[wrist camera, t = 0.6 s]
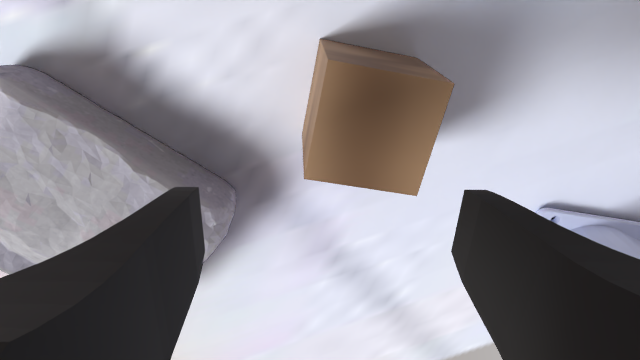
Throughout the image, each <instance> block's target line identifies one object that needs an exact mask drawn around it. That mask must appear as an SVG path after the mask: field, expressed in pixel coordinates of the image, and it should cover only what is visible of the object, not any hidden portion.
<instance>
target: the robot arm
mask: <svg viewBox="0 0 640 360" xmlns="http://www.w3.org/2000/svg"><path fill="white" fill-rule="evenodd" d="M554 216H556V217H555V218H554V219H553V220H551V218H552V217H554ZM451 252H452V255H453V258H454V261H455V264H456V267H457V270H458V272H459V275H460V278H461V280H462V283H463V285H464V287H465V289H466V291H467V293H468V294H469V296H470V298H471V300H472V302H473V304H474V306H475V308H476V310H477V312H478V313H479V315H480V317H481V319H482V321H483V323H484V325H485V326H486V328H487V330H488V332H489V334H490V336H491V338H492V339H493V341H494V343H495V345H496V347H497V349H498V351H499V353H500V355H501V357H502V359H503V360H640V222H637V221H630V220H624V219H617V218H611V217H604V216H598V215H592V214H585V213H579V212H572V211H566V210H559V209H553V208H542V209H539V210H538V211H537V212H536V213H534V212H533V211H531V210H529V209H527V208H525V207H523V206H521V205H519V204H517V203H515V202H513V201H511V200H509V199H507V198H505V197H502V196H500V195H498V194H496V193H493V192H490V191H488V190H464V195H463V200H462V204H461V209H460V214H459V218H458V223H457V227H456V232H455V237H454V241H453V246H452V251H451ZM204 255H205V244H204V234H203V224H202V214H201V204H200V194H199V187H174V188H172V189H170V190H168V191H167V192H165V193H163V194H162V195H160V196H159V197H157V198H156V199H154V200H153V201H151V202H150V203H148V204H147V205H145V206H144V207H142V208H140V209H139V210H137V211H136V212H134V213H133V214H131V215H130V216H128V217H126V218H125V219H123V220H122V221H120V222H118V223H116V224H115V225H113V226H111V227H110V228H108V229H106V230H104V231H103V232H101V233H99V234H98V235H96V236H94V237H92V238H91V239H89V240H87V241H85V242H83V243H81V244H79V245H77V246H75V247H73V248H71V249H69V250H67V251H65V252H63V253H60V254H58V255H56V256H54V257H52V258H50V259H47V260H45V261H43V262H40V263H38V264H35V265H33V266H30V267H28V268H25V269H22V270H20V271H17V272H15V273H12V274H10V275H7V276H5V277H2V278H0V360H170V359H171V356H172V353H173V351H174V348H175V345H176V343H177V340H178V337H179V335H180V332H181V329H182V326H183V324H184V321H185V318H186V316H187V313H188V310H189V308H190V305H191V302H192V299H193V297H194V294H195V291H196V288H197V285H198V283H199V278H200V274H201V269H202V264H203V260H204Z"/></svg>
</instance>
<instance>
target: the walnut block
mask: <svg viewBox="0 0 640 360" xmlns="http://www.w3.org/2000/svg"><path fill="white" fill-rule="evenodd" d="M453 87H454V83H453V82H451V81H450V80H448V79H447V78H446V77H444V76H443V75H441V74H440V73H438V72H437V71H435V70H434V69H433V68H431V67H430V66H428V65H427V64H425V63H424V62H422V61H421V60H420V59H418V58H415V57H410V56H405V55H400V54H395V53H390V52H385V51H380V50H375V49H370V48H365V47H360V46H355V45H350V44H345V43H340V42H335V41H330V40H325V39H320V41H319V46H318V52H317V57H316V62H315V68H314V73H313V78H312V84H311V89H310V94H309V100H308V105H307V110H306V116H305V121H304V126H303V132H302V143H303V165H304V179H308V180H315V181H321V182H328V183H335V184H341V185H348V186H354V187H361V188H368V189H374V190H381V191H387V192H394V193H401V194H407V195H414V196H417V194H418V191H419V188H420V185H421V182H422V179H423V176H424V173H425V170H426V167H427V164H428V161H429V158H430V155H431V152H432V149H433V146H434V143H435V140H436V137H437V134H438V131H439V128H440V125H441V122H442V119H443V116H444V113H445V110H446V107H447V104H448V101H449V99H450V96H451V93H452V90H453Z"/></svg>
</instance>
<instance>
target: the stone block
mask: <svg viewBox="0 0 640 360" xmlns="http://www.w3.org/2000/svg"><path fill="white" fill-rule="evenodd" d="M174 187H199V194H200V204H201V214H202V224H203V234H204V244H205V255H204V260H203V263H204V262H205V261H206V260H207V259H208V258H209V257H210V255H211V254H212V253H213V252H214V251H215V249H216V248H217V247H218V245H219V244H220V243H221V242H222V240H223V239H224V238H225V237H226V235H227V233H228V229H229V226H230V223H231V221H232V218H233V216H234V213H235V208H236V193H235V189H234V188H233V187H232V186H231V185H230V184H229V183H227V182H226V181H225V180H223V179H222V178H220V177H219V176H217V175H215V174H214V173H212V172H210V171H208V170H207V169H205V168H203V167H202V166H200V165H198V164H197V163H195V162H193V161H192V160H190V159H188V158H186V157H185V156H183V155H181V154H179V153H178V152H176V151H174V150H173V149H171V148H169V147H168V146H166V145H164V144H163V143H161V142H159V141H157V140H156V139H154V138H152V137H151V136H149V135H148V134H146V133H144V132H142V131H141V130H139V129H137V128H135V127H134V126H132V125H130V124H129V123H127V122H126V121H124V120H123V119H121V118H119V117H117V116H115V115H113V114H112V113H110V112H108V111H106V110H104V109H102V108H100V107H99V106H98V105H96V104H95V103H94V102H92V101H91V100H89V99H87V98H85V97H84V96H82V95H80V94H79V93H77V92H75V91H73V90H72V89H70V88H69V87H67V86H65V85H64V84H63V83H61V82H59V81H57V80H55V79H53V78H51V77H50V76H48V75H47V74H45V73H43V72H40V71H38V70H36V69H33V68H30V67H24V66H20V65H3V66H0V270H1V271H2V272H5V273H7V274H9V275H10V274H12V273H15V272H17V271H20V270H22V269H25V268H28V267H30V266H33V265H35V264H38V263H40V262H43V261H45V260H47V259H50V258H52V257H54V256H56V255H58V254H60V253H63V252H65V251H67V250H69V249H71V248H73V247H75V246H77V245H79V244H81V243H83V242H85V241H87V240H89V239H91V238H92V237H94V236H96V235H98V234H99V233H101V232H103V231H104V230H106V229H108V228H110V227H111V226H113V225H115V224H116V223H118V222H120V221H122V220H123V219H125V218H126V217H128V216H130V215H131V214H133V213H134V212H136V211H137V210H139V209H140V208H142V207H144V206H145V205H147V204H148V203H150V202H151V201H153V200H154V199H156V198H157V197H159V196H160V195H162V194H163V193H165V192H167V191H168V190H170V189H172V188H174Z"/></svg>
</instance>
